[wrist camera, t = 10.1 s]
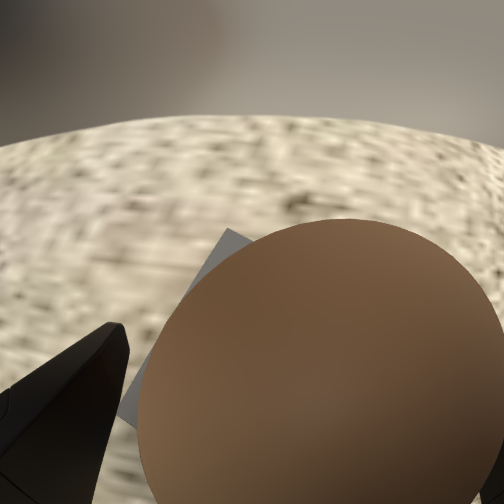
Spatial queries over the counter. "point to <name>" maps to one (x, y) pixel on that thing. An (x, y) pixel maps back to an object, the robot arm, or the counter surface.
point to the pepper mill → (326, 375)
